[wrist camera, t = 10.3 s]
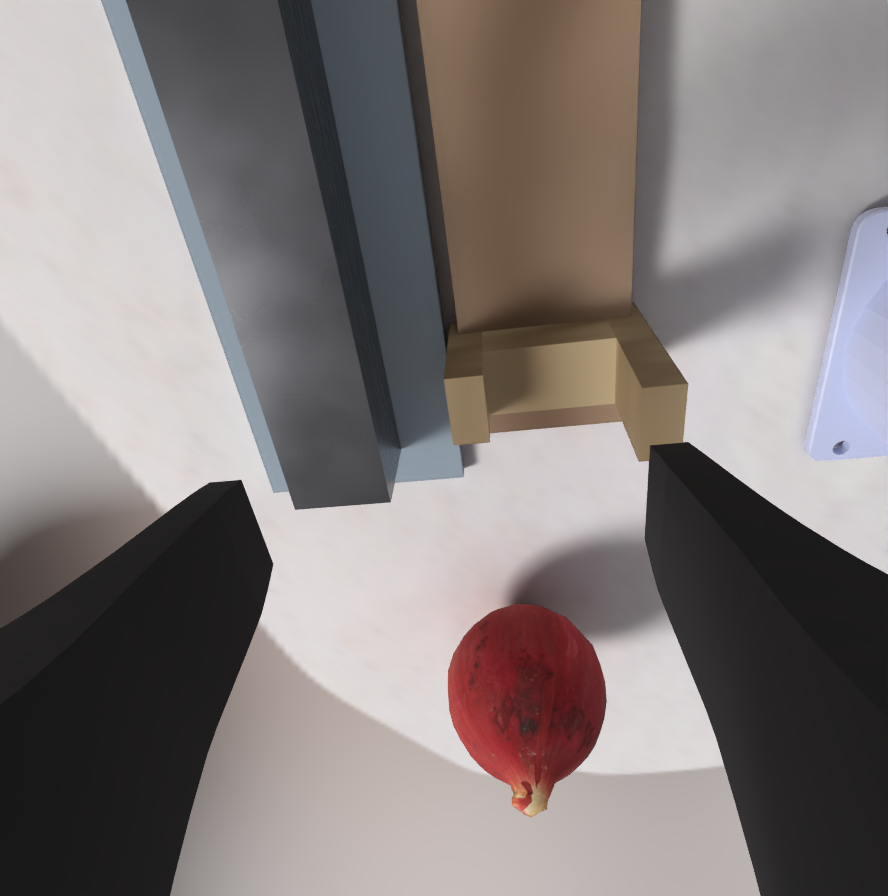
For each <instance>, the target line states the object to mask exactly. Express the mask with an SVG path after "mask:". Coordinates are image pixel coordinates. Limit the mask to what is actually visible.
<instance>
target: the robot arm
mask: <svg viewBox="0 0 888 896" xmlns="http://www.w3.org/2000/svg"><path fill="white" fill-rule="evenodd" d="M887 228H888V206H887V207H878V208H873V209H870V210H867V211H865V212H864V213H862V214H861V215H859V217H858V218H857V219H856V220H855V221H854V223H853V226H852V228H851V231H850V236H849V241H848V245H847V250H846V254H845V259H844V264H843V268H842V273H841V278H840V282H839V287H838V291H837V296H836V301H835V305H834V310H833V315H832V319H831V324H830V328H829V333H828V338H827V342H826V347H825V352H824V356H823V361H822V365H821V370H820V375H819V379H818V384H817V389H816V393H815V398H814V402H813V407H812V412H811V416H810V421H809V426H808V430H807V435H806V440H805V444H804V450H805V451H806V453H807V454H808V455H809V456H810V458H812V459H814V460H816V461H828V460H841V459H853V458H866V457H879V456H888V234H887ZM841 441H843V443H842V445H840V446H839V447H837V448H833V447H834V445H836V444H837V443H838V442H841ZM645 542H646V546H647V550H648V554H649V558H650V562H651V566H652V570H653V573H654V577H655V581H656V585H657V588H658V591H659V594H660V597H661V599H662V602H663V604H664V607H665V609H666V612H667V614H668V617H669V619H670V622H671V624H672V627H673V629H674V632H675V634H676V637H677V639H678V642H679V644H680V647H681V649H682V652H683V654H684V656H685V659H686V661H687V664H688V666H689V669H690V671H691V674H692V676H693V679H694V681H695V684H696V686H697V688H698V691H699V693H700V696H701V698H702V701H703V703H704V706H705V708H706V711H707V714H708V716H709V719H710V722H711V725H712V728H713V730H714V733H715V736H716V739H717V742H718V746H719V749H720V752H721V756H722V759H723V763H724V766H725V769H726V773H727V776H728V780H729V783H730V786H731V790H732V793H733V797H734V800H735V803H736V807H737V810H738V814H739V818H740V821H741V825H742V828H743V832H744V836H745V839H746V843H747V846H748V850H749V854H750V857H751V861H752V864H753V868H754V872H755V876H756V879H757V883H758V887H759V891H760V895H761V896H888V574H886V573H884V572H882V571H881V570H879V569H877V568H875V567H873V566H871V565H869V564H867V563H866V562H864V561H862V560H860V559H859V558H857V557H855V556H853V555H852V554H850V553H848V552H847V551H845V550H843V549H841V548H840V547H838V546H837V545H835V544H833V543H832V542H830V541H829V540H827V539H825V538H824V537H822V536H821V535H819V534H817V533H816V532H814V531H813V530H811V529H809V528H808V527H806V526H805V525H803V524H801V523H800V522H798V521H797V520H795V519H794V518H792V517H791V516H789V515H788V514H786V513H785V512H783V511H782V510H781V509H779V508H778V507H776V506H775V505H773V504H772V503H770V502H769V501H768V500H766V499H765V498H763V497H762V496H760V495H759V494H758V493H756V492H755V491H754V490H752V489H751V488H749V487H748V486H747V485H745V484H744V483H743V482H741V481H740V480H738V479H737V478H736V477H734V476H733V475H732V474H730V473H729V472H728V471H726V470H725V469H724V468H722V467H721V466H720V465H718V464H717V463H716V462H714V461H713V460H712V459H710V458H709V457H708V456H706V455H705V454H704V453H702V452H701V451H700V450H698V449H697V448H696V447H694V446H693V445H691V444H690V443H688V442H683V443H672V444H660V445H650V455H649V473H648V491H647V508H646V526H645ZM272 568H273V562H272V559H271V557H270V554H269V552H268V549H267V546H266V544H265V541H264V538H263V536H262V533H261V530H260V528H259V525H258V523H257V520H256V517H255V515H254V512H253V509H252V507H251V504H250V502H249V499H248V496H247V494H246V491H245V488H244V486H243V483H242V481H241V480H236V481H224V482H212V483H208V484H207V485H205V486H204V487H202V488H200V489H199V490H197V491H196V492H194V493H193V494H191V495H190V496H189V497H187V498H186V499H184V500H183V501H182V502H180V503H179V504H177V505H176V506H175V507H173V508H172V509H171V510H169V511H168V512H167V513H165V514H164V515H163V516H161V517H160V518H159V519H158V520H156V521H155V522H154V523H152V524H151V525H150V526H148V527H147V528H146V529H144V530H143V531H142V532H140V533H139V534H138V535H136V536H135V537H134V538H132V539H131V540H130V541H128V542H127V543H126V544H124V545H123V546H122V547H120V548H119V549H118V550H117V551H115V552H114V553H113V554H111V555H110V556H108V557H107V558H105V559H104V560H103V561H101V562H100V563H98V564H97V565H96V566H94V567H93V568H92V569H90V570H89V571H87V572H86V573H84V574H83V575H81V576H80V577H79V578H77V579H76V580H74V581H73V582H71V583H70V584H69V585H67V586H66V587H64V588H63V589H62V590H60V591H59V592H57V593H56V594H54V595H53V596H52V597H50V598H49V599H47V600H45V601H44V602H42V603H41V604H39V605H38V606H36V607H35V608H33V609H32V610H30V611H28V612H27V613H25V614H24V615H22V616H20V617H19V618H17V619H15V620H14V621H12V622H11V623H9V624H7V625H6V626H4V627H2V628H1V629H0V896H170V893H171V889H172V884H173V880H174V876H175V872H176V868H177V863H178V860H179V856H180V852H181V848H182V844H183V840H184V836H185V833H186V829H187V824H188V821H189V816H190V813H191V810H192V806H193V802H194V799H195V795H196V792H197V788H198V784H199V781H200V778H201V774H202V771H203V767H204V764H205V760H206V757H207V753H208V751H209V748H210V745H211V742H212V740H213V737H214V734H215V731H216V728H217V726H218V723H219V721H220V718H221V716H222V713H223V710H224V708H225V705H226V703H227V701H228V698H229V696H230V693H231V691H232V688H233V685H234V683H235V681H236V678H237V675H238V673H239V671H240V668H241V665H242V663H243V661H244V658H245V656H246V653H247V650H248V648H249V645H250V643H251V640H252V637H253V635H254V632H255V630H256V627H257V625H258V622H259V619H260V616H261V614H262V610H263V606H264V602H265V598H266V594H267V590H268V586H269V581H270V577H271V572H272Z"/></svg>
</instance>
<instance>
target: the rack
mask: <svg viewBox="0 0 888 896" xmlns="http://www.w3.org/2000/svg"><path fill="white" fill-rule="evenodd" d="M416 3H417V11H418V19H419V27H420V34H421V42H422V50H423V58H424V66H425V74H426V82H427V90H428V97H429V105H430V113H431V121H432V129H433V137H434V145H435V153H436V160H437V168H438V176H439V184H440V192H441V200H442V208H443V216H444V223H445V231H446V239H447V247H448V255H449V263H450V271H451V279H452V286H453V294H454V302H455V310H456V318H457V323H450V327H449V336H448V345H447V354H446V363H445V372H444V385H445V391H446V398H447V405H448V412H449V419H450V425H451V432H452V439H453V445H464V444H476V443H487V442H490V433H498V432H509V431H520V430H531V429H542V428H553V427H565V426H576V425H587V424H598V423H609V422H620V421H622V422H623V424H624V427H625V429H626V431H627V434H628V436H629V439H630V441H631V444H632V446H633V448H634V451H635V453H636V456H637V458H638V461H639V462H640V461H649V455H650V445H660V444H672V443H683V435H684V424H685V413H686V402H687V390H688V383H687V381H686V380H685V378H684V377H683V375H682V374H681V372H680V371H679V369H678V368H677V366H676V365H675V363H674V362H673V360H672V359H671V357H670V356H669V354H668V353H667V351H666V350H665V348H664V347H663V346H662V344H661V343H660V341H659V340H658V338H657V337H656V335H655V334H654V332H653V331H652V329H651V328H650V326H649V325H648V323H647V322H646V320H645V319H644V317H643V316H642V314H641V313H640V311H639V310H638V308H637V307H636V305H635V304H634V303H631V300H632V269H633V238H634V207H635V176H636V146H637V115H638V84H639V53H640V22H641V0H416Z"/></svg>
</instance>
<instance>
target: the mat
mask: <svg viewBox="0 0 888 896" xmlns="http://www.w3.org/2000/svg"><path fill="white" fill-rule="evenodd" d="M101 1H102V4H103V7H104V10H105V13H106V16H107V19H108V21H109V24H110V27H111V30H112V33H113V36H114V39H115V41H116V44H117V47H118V50H119V53H120V56H121V59H122V61H123V64H124V67H125V70H126V73H127V76H128V79H129V81H130V84H131V87H132V90H133V93H134V96H135V99H136V101H137V104H138V107H139V110H140V113H141V116H142V118H143V121H144V124H145V127H146V130H147V133H148V136H149V138H150V141H151V144H152V147H153V150H154V153H155V156H156V158H157V161H158V164H159V167H160V170H161V173H162V176H163V178H164V181H165V184H166V187H167V190H168V193H169V196H170V198H171V201H172V204H173V207H174V210H175V213H176V216H177V218H178V221H179V224H180V227H181V230H182V233H183V236H184V238H185V241H186V244H187V247H188V250H189V253H190V256H191V258H192V261H193V264H194V267H195V270H196V273H197V276H198V278H199V281H200V284H201V287H202V290H203V293H204V296H205V298H206V301H207V304H208V307H209V310H210V313H211V316H212V318H213V321H214V324H215V327H216V330H217V333H218V335H219V338H220V341H221V344H222V347H223V350H224V353H225V355H226V358H227V361H228V364H229V367H230V370H231V373H232V375H233V378H234V381H235V384H236V387H237V390H238V393H239V395H240V398H241V401H242V404H243V407H244V410H245V413H246V415H247V418H248V421H249V424H250V427H251V430H252V433H253V435H254V438H255V441H256V444H257V447H258V450H259V453H260V455H261V458H262V461H263V464H264V467H265V470H266V473H267V475H268V478H269V481H270V484H271V487H272V490H273V493H276V492H288V491H289V490H288V487H287V484H286V481H285V478H284V475H283V472H282V469H281V466H280V463H279V460H278V457H277V454H276V451H275V448H274V445H273V442H272V439H271V436H270V433H269V430H268V427H267V423H266V420H265V417H264V414H263V411H262V408H261V405H260V402H259V399H258V396H257V393H256V390H255V387H254V384H253V381H252V378H251V375H250V372H249V369H248V366H247V363H246V360H245V357H244V354H243V351H242V348H241V345H240V342H239V339H238V336H237V333H236V330H235V327H234V324H233V321H232V318H231V315H230V312H229V309H228V306H227V303H226V300H225V297H224V294H223V291H222V288H221V285H220V282H219V279H218V276H217V273H216V270H215V267H214V264H213V261H212V258H211V255H210V252H209V249H208V246H207V243H206V240H205V237H204V234H203V231H202V228H201V225H200V222H199V219H198V216H197V213H196V210H195V207H194V204H193V201H192V198H191V195H190V192H189V189H188V186H187V183H186V180H185V177H184V174H183V171H182V168H181V165H180V162H179V159H178V156H177V153H176V150H175V147H174V144H173V141H172V138H171V135H170V132H169V129H168V126H167V123H166V120H165V117H164V114H163V111H162V108H161V105H160V102H159V99H158V96H157V93H156V90H155V87H154V84H153V81H152V78H151V75H150V72H149V69H148V66H147V63H146V60H145V57H144V54H143V51H142V48H141V45H140V42H139V39H138V36H137V33H136V30H135V27H134V24H133V21H132V18H131V15H130V12H129V9H128V6H127V3H126V0H101ZM311 4H312V8H313V13H314V18H315V23H316V28H317V33H318V38H319V43H320V48H321V53H322V58H323V63H324V68H325V73H326V78H327V83H328V88H329V93H330V98H331V103H332V108H333V113H334V118H335V123H336V128H337V132H338V137H339V142H340V147H341V152H342V157H343V162H344V167H345V172H346V177H347V182H348V187H349V192H350V197H351V202H352V207H353V212H354V217H355V222H356V227H357V232H358V237H359V242H360V247H361V252H362V257H363V261H364V266H365V271H366V276H367V281H368V286H369V291H370V296H371V301H372V306H373V311H374V316H375V321H376V326H377V331H378V336H379V341H380V346H381V351H382V356H383V361H384V366H385V371H386V376H387V381H388V386H389V390H390V395H391V400H392V405H393V410H394V415H395V420H396V425H397V430H398V435H399V440H400V445H401V453H400V458H399V463H398V468H397V473H396V478H395V483H398V482H410V481H423V480H435V479H447V478H459V477H464V467H463V460H462V453H461V445H453V439H452V432H451V425H450V419H449V412H448V405H447V398H446V391H445V385H444V372H445V363H446V354H447V345H446V338H445V331H444V324H443V317H442V309H441V302H440V295H439V288H438V281H437V274H436V266H435V259H434V252H433V245H432V238H431V231H430V223H429V216H428V209H427V202H426V195H425V188H424V180H423V173H422V166H421V159H420V152H419V145H418V138H417V130H416V123H415V116H414V109H413V102H412V95H411V87H410V80H409V73H408V66H407V59H406V52H405V44H404V37H403V30H402V23H401V16H400V9H399V1H398V0H311Z"/></svg>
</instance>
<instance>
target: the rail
mask: <svg viewBox="0 0 888 896" xmlns="http://www.w3.org/2000/svg"><path fill="white" fill-rule="evenodd" d="M126 3H127V6H128V9H129V12H130V15H131V18H132V21H133V24H134V27H135V30H136V33H137V36H138V39H139V42H140V45H141V48H142V51H143V54H144V57H145V60H146V63H147V66H148V69H149V72H150V75H151V78H152V81H153V84H154V87H155V90H156V93H157V96H158V99H159V102H160V105H161V108H162V111H163V114H164V117H165V120H166V123H167V126H168V129H169V132H170V135H171V138H172V141H173V144H174V147H175V150H176V153H177V156H178V159H179V162H180V165H181V168H182V171H183V174H184V177H185V180H186V183H187V186H188V189H189V192H190V195H191V198H192V201H193V204H194V207H195V210H196V213H197V216H198V219H199V222H200V225H201V228H202V231H203V234H204V237H205V240H206V243H207V246H208V249H209V252H210V255H211V258H212V261H213V264H214V267H215V270H216V273H217V276H218V279H219V282H220V285H221V288H222V291H223V294H224V297H225V300H226V303H227V306H228V309H229V312H230V315H231V318H232V321H233V324H234V327H235V330H236V333H237V336H238V339H239V342H240V345H241V348H242V351H243V354H244V357H245V360H246V363H247V366H248V369H249V372H250V375H251V378H252V381H253V384H254V387H255V390H256V393H257V396H258V399H259V402H260V405H261V408H262V411H263V414H264V417H265V420H266V423H267V427H268V430H269V433H270V436H271V439H272V442H273V445H274V448H275V451H276V454H277V457H278V460H279V463H280V466H281V469H282V472H283V475H284V478H285V481H286V484H287V487H288V490H289V493H290V496H291V499H292V502H293V505H294V508H295V510H297V509H310V508H323V507H335V506H348V505H361V504H374V503H387V502H391V498H392V493H393V488H394V483H395V478H396V473H397V468H398V463H399V458H400V453H401V445H400V440H399V435H398V430H397V425H396V420H395V415H394V410H393V405H392V400H391V395H390V390H389V386H388V381H387V376H386V371H385V366H384V361H383V356H382V351H381V346H380V341H379V336H378V331H377V326H376V321H375V316H374V311H373V306H372V301H371V296H370V291H369V286H368V281H367V276H366V271H365V266H364V261H363V257H362V252H361V247H360V242H359V237H358V232H357V227H356V222H355V217H354V212H353V207H352V202H351V197H350V192H349V187H348V182H347V177H346V172H345V167H344V162H343V157H342V152H341V147H340V142H339V137H338V132H337V128H336V123H335V118H334V113H333V108H332V103H331V98H330V93H329V88H328V83H327V78H326V73H325V68H324V63H323V58H322V53H321V48H320V43H319V38H318V33H317V28H316V23H315V18H314V13H313V8H312V4H311V0H126Z"/></svg>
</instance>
